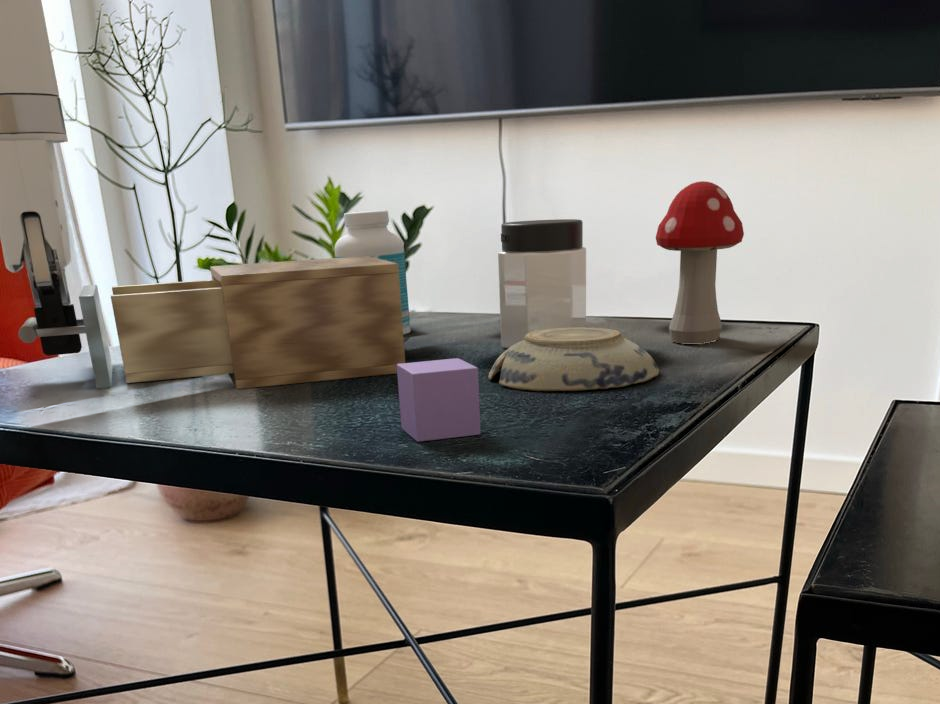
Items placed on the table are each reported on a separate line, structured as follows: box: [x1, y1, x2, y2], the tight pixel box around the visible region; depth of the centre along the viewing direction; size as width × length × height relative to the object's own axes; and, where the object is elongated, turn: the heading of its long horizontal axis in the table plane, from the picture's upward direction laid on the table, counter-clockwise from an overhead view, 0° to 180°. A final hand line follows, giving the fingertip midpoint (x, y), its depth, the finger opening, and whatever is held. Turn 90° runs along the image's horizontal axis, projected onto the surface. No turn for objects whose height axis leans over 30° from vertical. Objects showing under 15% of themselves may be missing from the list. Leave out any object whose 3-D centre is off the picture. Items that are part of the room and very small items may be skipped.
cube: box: [396, 357, 482, 443], centre depth 71 cm, size 5×5×5 cm
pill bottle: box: [334, 209, 411, 343], centre depth 110 cm, size 8×7×14 cm
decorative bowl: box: [487, 326, 660, 392], centre depth 89 cm, size 15×4×15 cm
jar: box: [497, 218, 587, 350], centre depth 103 cm, size 9×8×12 cm
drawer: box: [17, 279, 234, 389], centre depth 92 cm, size 20×11×8 cm, turn 108°
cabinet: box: [209, 256, 406, 390], centre depth 96 cm, size 16×13×10 cm
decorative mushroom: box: [655, 180, 745, 344], centre depth 102 cm, size 10×9×15 cm
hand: (63, 352), depth 91 cm, fingers closed
